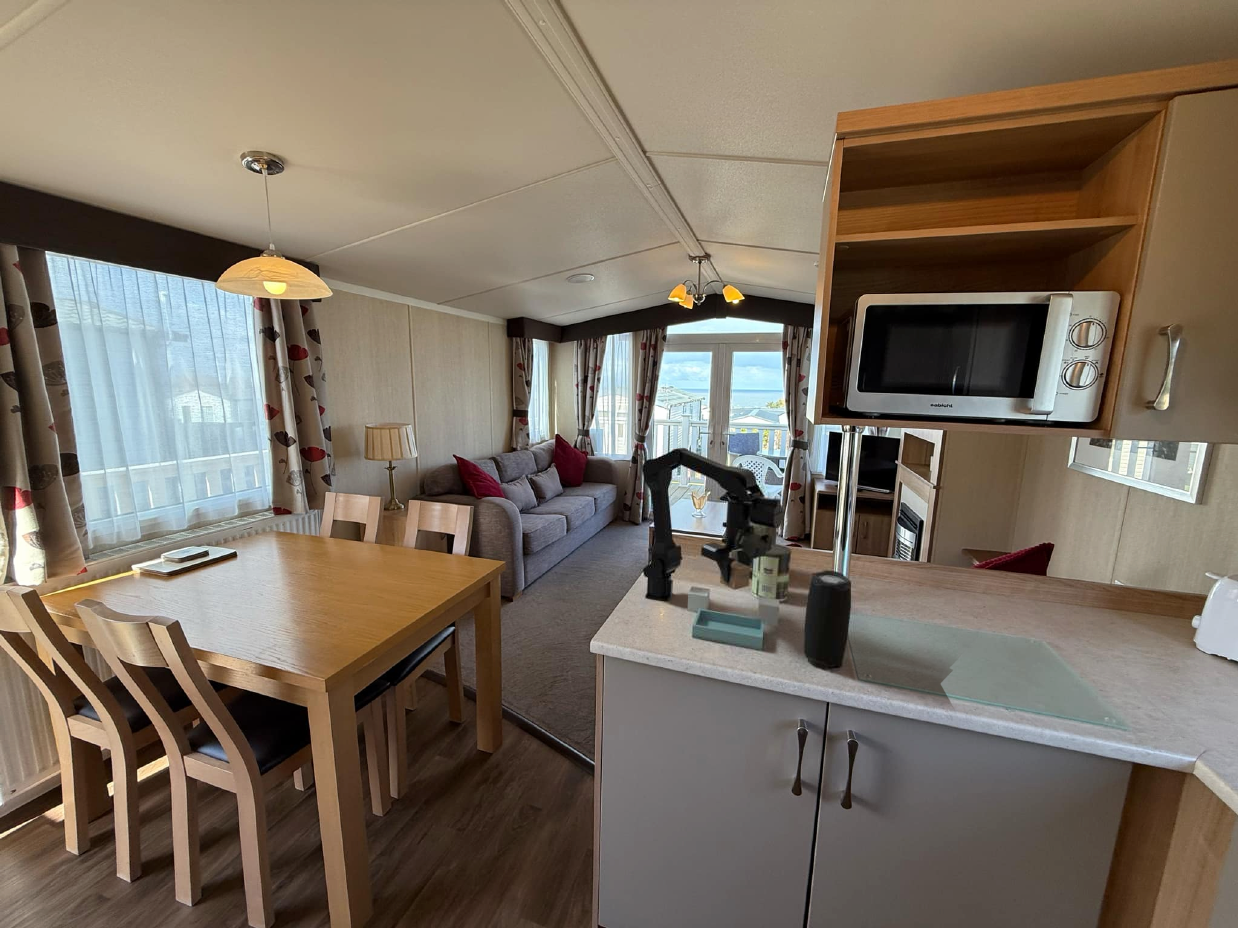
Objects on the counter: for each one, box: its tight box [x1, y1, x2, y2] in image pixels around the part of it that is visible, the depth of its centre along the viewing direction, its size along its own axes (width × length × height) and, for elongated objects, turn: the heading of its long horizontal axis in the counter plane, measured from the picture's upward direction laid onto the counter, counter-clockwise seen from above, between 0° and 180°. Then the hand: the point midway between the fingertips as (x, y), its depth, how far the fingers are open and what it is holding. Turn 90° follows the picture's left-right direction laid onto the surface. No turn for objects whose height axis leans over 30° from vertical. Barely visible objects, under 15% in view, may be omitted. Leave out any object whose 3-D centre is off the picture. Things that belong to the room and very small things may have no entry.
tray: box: [691, 609, 764, 651], centre depth 117 cm, size 16×10×3 cm, turn 72°
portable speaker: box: [803, 569, 852, 670], centre depth 105 cm, size 9×9×20 cm
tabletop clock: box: [731, 521, 777, 569], centre depth 155 cm, size 14×9×25 cm, turn 130°
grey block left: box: [687, 586, 711, 613], centre depth 130 cm, size 5×5×5 cm
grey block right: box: [757, 597, 780, 627], centre depth 125 cm, size 5×5×5 cm
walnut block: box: [719, 561, 751, 590], centre depth 122 cm, size 5×5×5 cm
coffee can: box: [750, 543, 792, 603], centre depth 140 cm, size 10×10×14 cm
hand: (734, 580), depth 122 cm, fingers closed on walnut block, 5 cm apart
